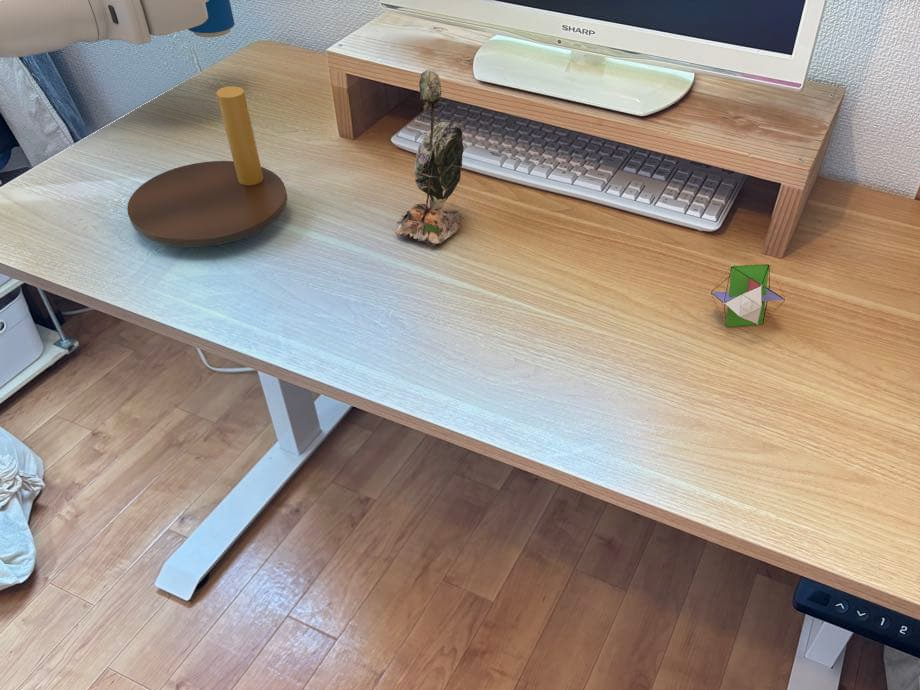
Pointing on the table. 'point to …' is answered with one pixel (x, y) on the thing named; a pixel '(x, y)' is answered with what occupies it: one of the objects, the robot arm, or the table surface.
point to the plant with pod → (434, 173)
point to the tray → (212, 191)
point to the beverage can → (216, 19)
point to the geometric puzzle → (747, 295)
